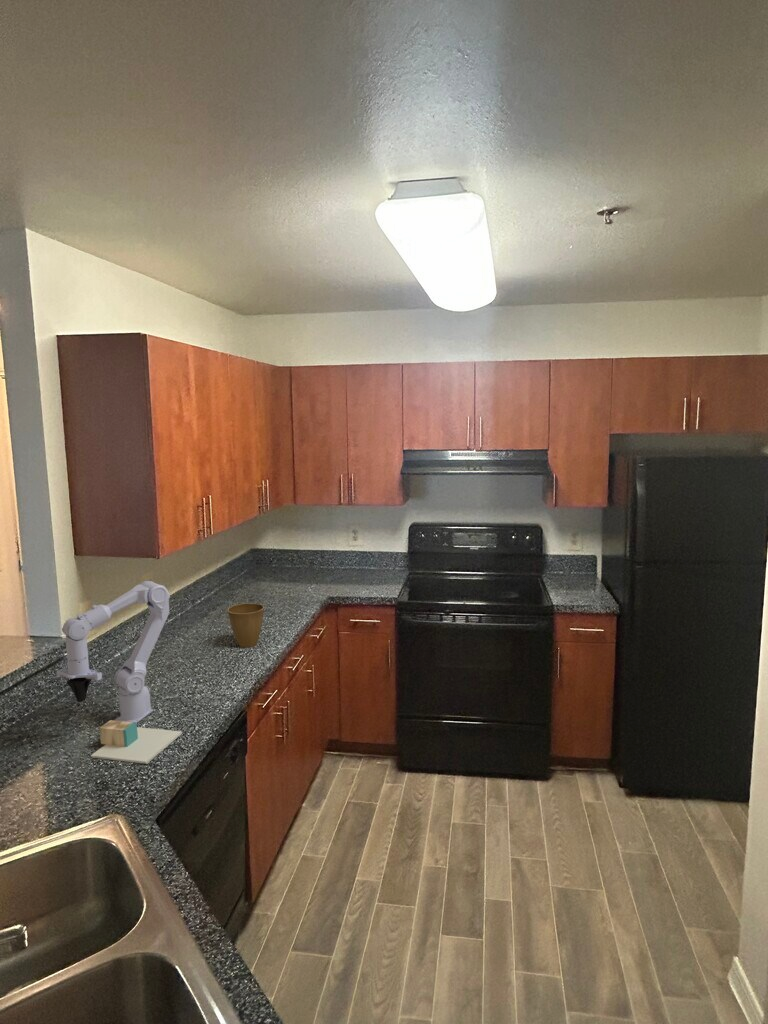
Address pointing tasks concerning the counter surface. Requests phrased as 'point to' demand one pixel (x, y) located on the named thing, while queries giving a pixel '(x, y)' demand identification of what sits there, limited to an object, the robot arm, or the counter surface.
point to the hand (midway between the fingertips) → (81, 700)
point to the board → (139, 746)
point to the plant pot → (246, 623)
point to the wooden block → (118, 733)
